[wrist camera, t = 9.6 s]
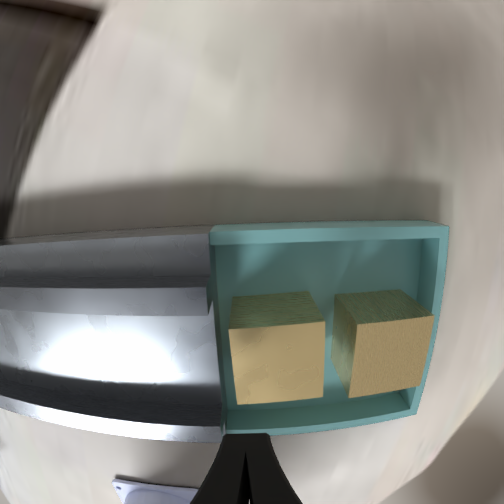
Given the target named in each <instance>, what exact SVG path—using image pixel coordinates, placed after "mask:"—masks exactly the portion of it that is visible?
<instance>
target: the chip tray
mask: <svg viewBox="0 0 504 504" xmlns="http://www.w3.org/2000/svg"><path fill="white" fill-rule="evenodd" d="M448 238H449V226H446V225H442V224H439V223H435V222H431V221H427V220H377V221H316V222H278V223H248V224H223V225H215V226H214V227H213V228H212V229H211V231H210V245H215V256H216V272H217V287H218V302H219V315H220V328H221V341H222V353H223V365H224V376H225V386H226V397H227V407H228V414H227V427H226V432H227V434H240V433H267V434H269V435H270V436H273V435H288V434H300V433H310V432H319V431H328V430H336V429H343V428H349V427H356V426H362V425H368V424H373V423H379V422H384V421H389V420H393V419H398V418H403V417H407V416H411V415H415V414H416V413H417V410H418V407H419V403H420V400H421V396H422V393H423V389H424V385H425V381H426V378H427V374H428V369H429V365H430V361H431V357H432V352H433V347H434V343H435V338H436V332H437V327H438V321H439V316H440V309H441V303H442V296H443V289H444V281H445V272H446V263H447V252H448ZM397 289H401V290H402V291H403V292H405V293H406V294H407V295H409V296H410V297H411V298H413V299H414V300H415V301H417V302H418V303H419V304H421V305H422V306H423V307H424V308H426V309H427V310H428V311H430V312H431V313H432V314H434V315H435V317H434V323H433V328H432V334H431V339H430V344H429V349H428V354H427V358H426V363H425V367H424V371H423V375H422V379H421V383H420V386H416V387H411V388H406V389H401V390H396V391H391V392H385V393H379V394H373V395H367V396H360V397H354V398H348V396H347V394H346V392H345V390H344V387H343V385H342V383H341V381H340V378H339V376H338V374H337V372H336V369H335V367H334V365H333V363H332V361H331V358H330V357H331V344H332V330H333V314H334V295H335V294H343V293H358V292H372V291H385V290H397ZM300 291H309V293H310V294H311V296H312V298H313V300H314V302H315V303H316V305H317V307H318V309H319V311H320V313H321V314H322V316H323V318H324V320H325V358H324V384H323V397H319V398H311V399H302V400H293V401H283V402H271V403H257V404H239V405H237V398H236V390H235V382H234V374H233V365H232V357H231V348H230V339H229V330H228V329H229V321H230V313H231V305H232V297H233V296H248V295H262V294H275V293H288V292H300Z"/></svg>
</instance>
